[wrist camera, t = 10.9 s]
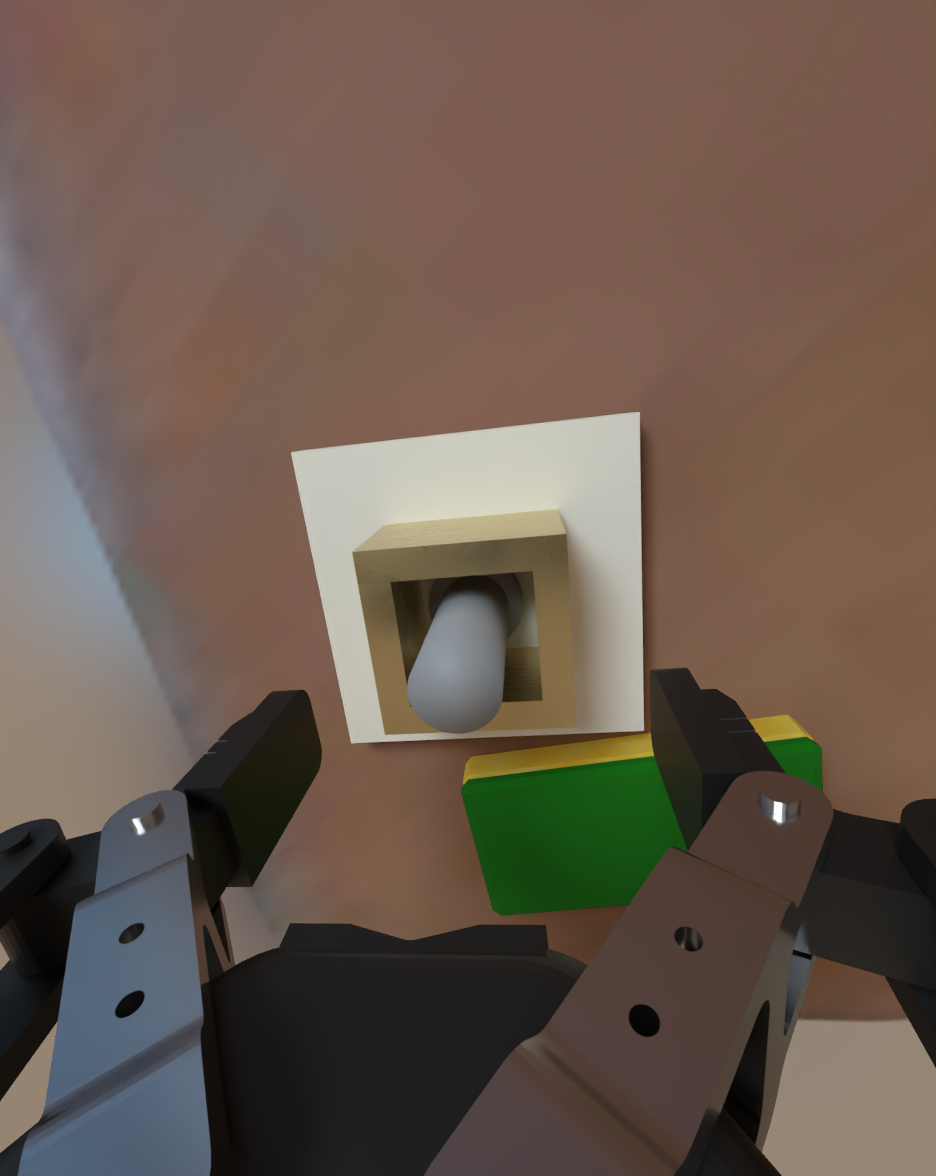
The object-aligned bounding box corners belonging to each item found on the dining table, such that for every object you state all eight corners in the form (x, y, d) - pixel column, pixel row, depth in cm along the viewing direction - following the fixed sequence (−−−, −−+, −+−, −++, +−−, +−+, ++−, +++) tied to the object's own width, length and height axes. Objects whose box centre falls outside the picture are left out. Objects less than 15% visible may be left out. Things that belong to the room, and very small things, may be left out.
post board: (632, 412, 18) (712, 412, 11) (637, 714, 22) (700, 878, 14) (304, 450, 20) (165, 473, 12) (359, 727, 24) (280, 881, 16)
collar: (557, 508, 19) (566, 533, 15) (566, 669, 20) (577, 727, 17) (384, 524, 19) (352, 552, 16) (409, 677, 21) (384, 735, 17)
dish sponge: (464, 751, 24) (458, 787, 22) (791, 707, 22) (823, 742, 20) (496, 873, 26) (494, 918, 24) (797, 845, 24) (827, 890, 22)
